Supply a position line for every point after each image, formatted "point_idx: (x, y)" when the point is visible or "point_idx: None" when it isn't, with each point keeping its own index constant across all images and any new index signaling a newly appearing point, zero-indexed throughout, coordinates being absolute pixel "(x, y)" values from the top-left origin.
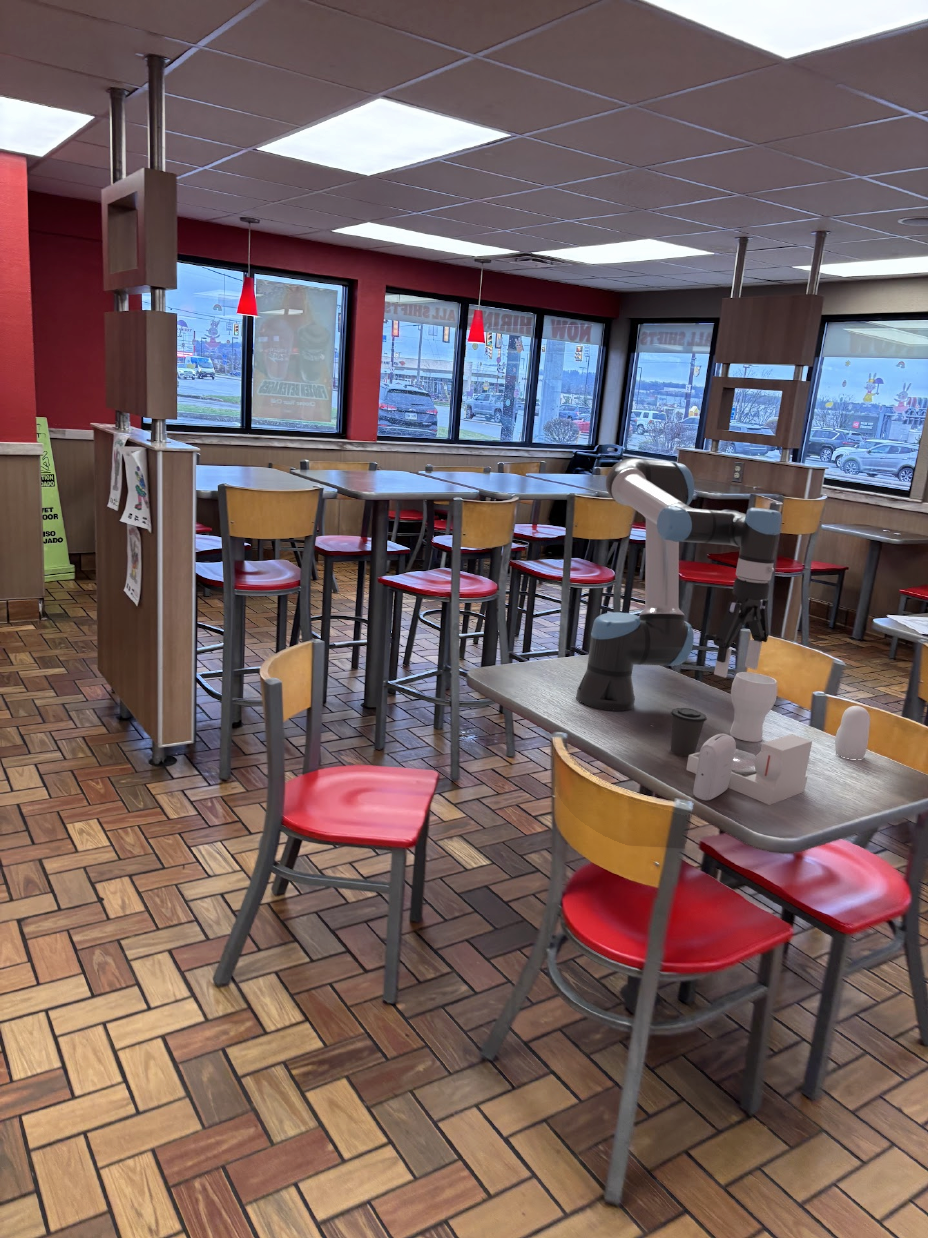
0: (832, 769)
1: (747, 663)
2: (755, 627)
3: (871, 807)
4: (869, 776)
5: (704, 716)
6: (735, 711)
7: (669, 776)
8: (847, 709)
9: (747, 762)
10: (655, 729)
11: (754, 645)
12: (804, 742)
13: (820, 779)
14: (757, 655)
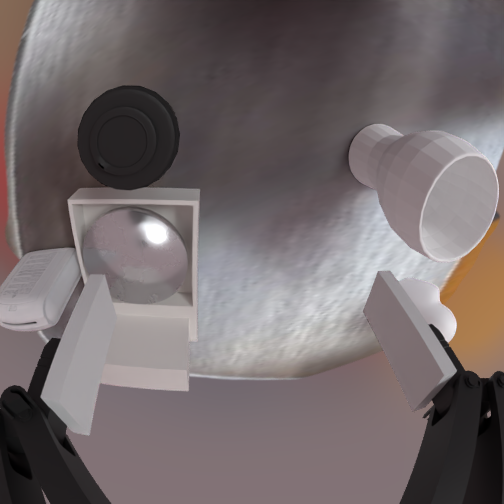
0: (329, 306)
1: (382, 290)
2: (415, 488)
3: (231, 370)
4: (341, 334)
5: (146, 179)
6: (388, 145)
7: (36, 192)
8: (443, 326)
9: (136, 283)
10: (235, 5)
11: (416, 376)
12: (166, 388)
13: (270, 315)
14: (388, 357)
